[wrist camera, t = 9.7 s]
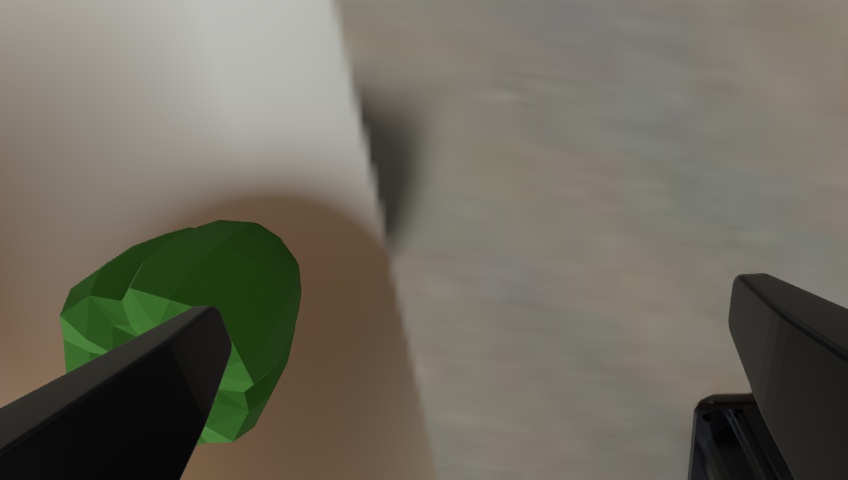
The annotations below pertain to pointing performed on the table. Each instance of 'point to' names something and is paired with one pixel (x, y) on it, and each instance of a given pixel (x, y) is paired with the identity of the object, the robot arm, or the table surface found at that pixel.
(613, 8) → the table surface
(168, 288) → the bell pepper
